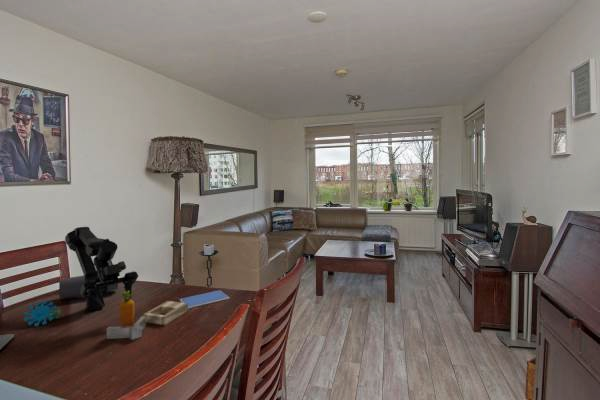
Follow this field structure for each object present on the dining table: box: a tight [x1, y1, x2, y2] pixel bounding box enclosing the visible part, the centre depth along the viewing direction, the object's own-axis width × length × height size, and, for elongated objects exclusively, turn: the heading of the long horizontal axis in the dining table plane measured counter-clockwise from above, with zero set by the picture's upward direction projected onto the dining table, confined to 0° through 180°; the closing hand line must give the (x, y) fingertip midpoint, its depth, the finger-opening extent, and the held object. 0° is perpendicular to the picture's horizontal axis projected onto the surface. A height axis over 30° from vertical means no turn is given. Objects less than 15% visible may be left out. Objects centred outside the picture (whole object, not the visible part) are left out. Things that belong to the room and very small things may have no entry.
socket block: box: [142, 300, 189, 326], centre depth 129 cm, size 10×14×3 cm
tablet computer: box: [179, 290, 230, 310], centre depth 146 cm, size 19×13×1 cm, turn 126°
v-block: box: [106, 315, 147, 341], centre depth 114 cm, size 9×13×4 cm, turn 140°
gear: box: [24, 300, 62, 327], centre depth 124 cm, size 11×6×10 cm
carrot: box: [118, 291, 136, 326], centre depth 115 cm, size 5×5×15 cm
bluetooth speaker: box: [58, 275, 119, 299], centre depth 152 cm, size 23×9×10 cm, turn 120°
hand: (117, 301), depth 120 cm, fingers open, 9 cm apart
